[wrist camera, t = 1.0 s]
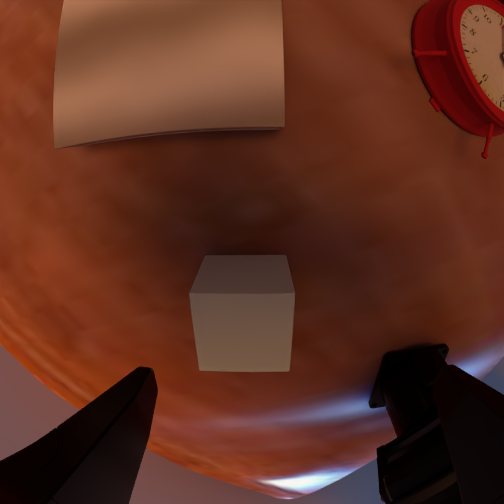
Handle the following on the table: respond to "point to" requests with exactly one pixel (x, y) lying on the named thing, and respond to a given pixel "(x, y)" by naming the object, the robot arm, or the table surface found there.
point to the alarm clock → (463, 62)
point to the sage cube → (243, 313)
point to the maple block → (167, 68)
